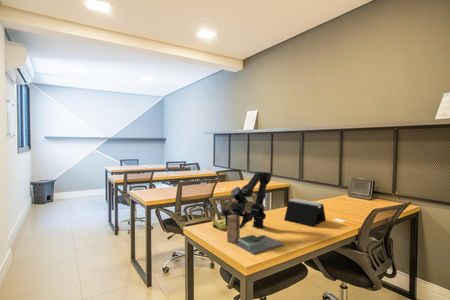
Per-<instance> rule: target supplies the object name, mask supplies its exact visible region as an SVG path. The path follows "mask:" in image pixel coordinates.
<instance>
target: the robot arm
mask: <svg viewBox="0 0 450 300" xmlns="http://www.w3.org/2000/svg"><path fill="white" fill-rule="evenodd" d="M271 179H272V174H271V172H267V171H255V172H254V175H253V176H252V177H251V179H250V180H249V181H248V183H247V184H246V185H243V186H242V187H239V186H236V187H235V188H233V189H232V190H231V191H230V195H231V197H233V199H234V200H235V201H236V202H230V209H231V211H230V209H227V208H223V209H222V211H221V213H222V215H223V217H224V218H225V219H226V226H227V216H229V215H231V214H234V215H240V218H242V219H241V222H240V229H242V228H244V227H245V225H246V224H247V223H249V222H252V221H253V224H252V225H251V226H252V227H254V228H256V229H262V228H265V226H266V225H264V220H265V219H266V217H267V215H266V213H265V212H264V206H263V205H264V199H265V194H266V191H267V186H268V184H269V183H270V182H271ZM258 183H259V186H258V190H257V194H256V200H255V202H254V203H253V204H251V208H250V212H249V211H245V207H246V204H248V203H249V201H248V198H252V196H253V194H254V189H255V187H256V186H257V184H258Z"/></svg>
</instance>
